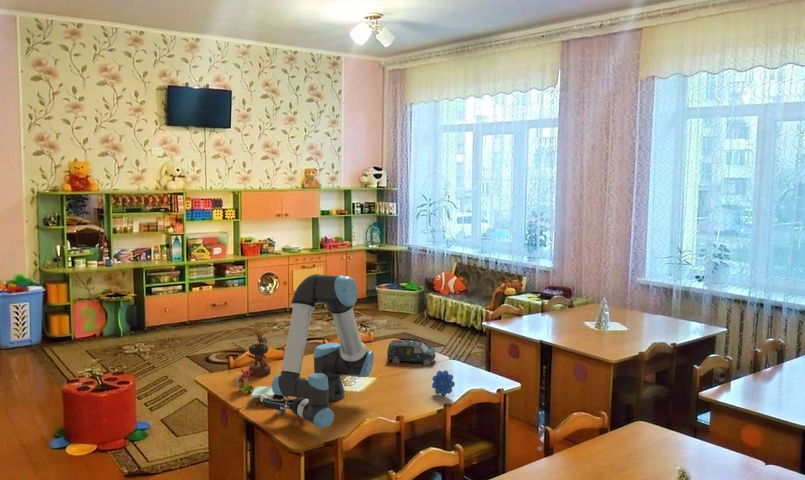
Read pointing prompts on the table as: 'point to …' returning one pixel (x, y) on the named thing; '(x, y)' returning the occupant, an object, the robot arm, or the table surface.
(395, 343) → the toy van
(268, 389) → the miniature table
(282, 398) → the grandmother figurine
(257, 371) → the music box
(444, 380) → the blue bumpy round piece
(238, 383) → the flower ornament
